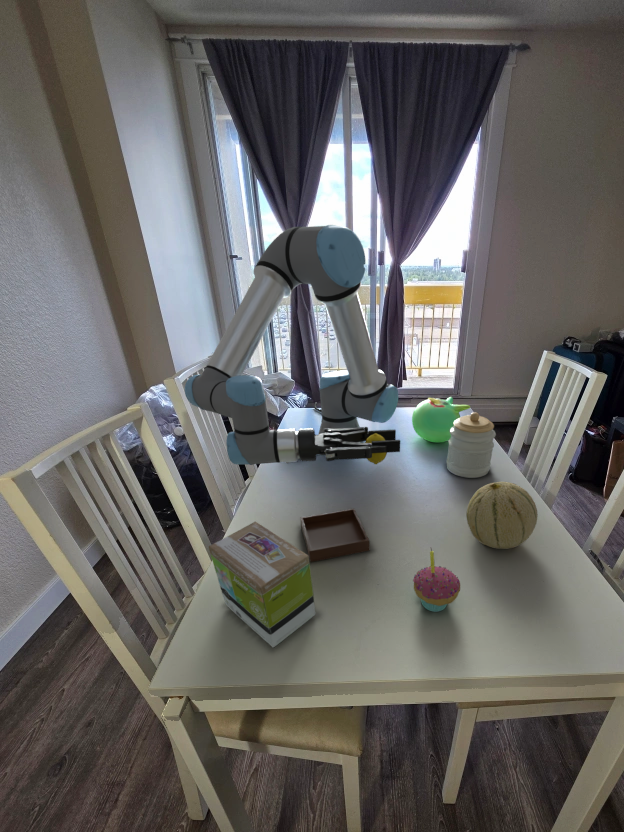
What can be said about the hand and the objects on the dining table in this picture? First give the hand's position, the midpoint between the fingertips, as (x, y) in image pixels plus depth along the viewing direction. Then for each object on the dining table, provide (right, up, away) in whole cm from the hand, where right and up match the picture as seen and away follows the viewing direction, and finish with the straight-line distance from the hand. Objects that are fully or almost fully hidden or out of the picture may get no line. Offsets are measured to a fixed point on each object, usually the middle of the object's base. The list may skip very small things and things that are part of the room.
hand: (397, 440), depth 96 cm
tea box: (-25, -35, -21) cm, 48 cm away
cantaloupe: (+22, -24, -3) cm, 33 cm away
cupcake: (+6, -34, -19) cm, 39 cm away
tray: (-15, -23, -3) cm, 27 cm away
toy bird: (+16, +7, +45) cm, 49 cm away
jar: (+23, -5, +27) cm, 36 cm away
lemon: (-5, -6, +3) cm, 8 cm away
